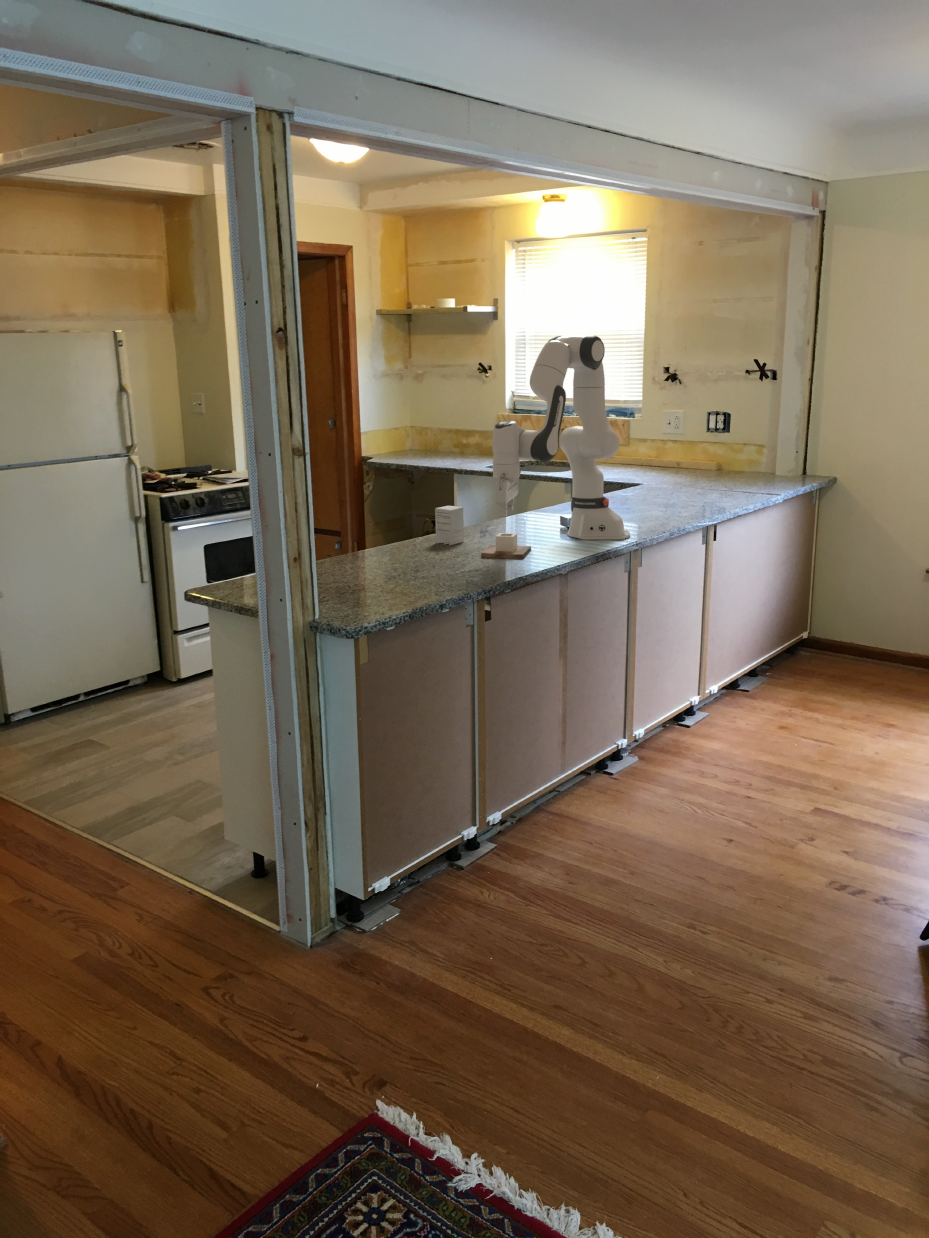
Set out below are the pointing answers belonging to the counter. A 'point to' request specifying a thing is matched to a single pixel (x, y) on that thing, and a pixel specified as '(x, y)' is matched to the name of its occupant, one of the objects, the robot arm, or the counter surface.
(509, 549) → the collar
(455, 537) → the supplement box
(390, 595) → the counter surface
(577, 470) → the robot arm
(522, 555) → the pin board
